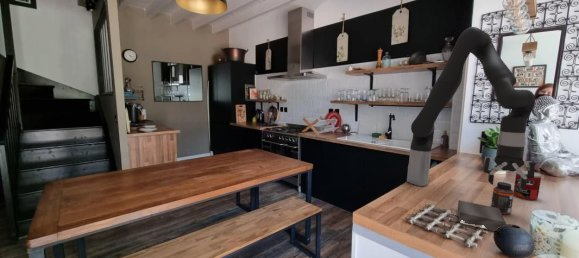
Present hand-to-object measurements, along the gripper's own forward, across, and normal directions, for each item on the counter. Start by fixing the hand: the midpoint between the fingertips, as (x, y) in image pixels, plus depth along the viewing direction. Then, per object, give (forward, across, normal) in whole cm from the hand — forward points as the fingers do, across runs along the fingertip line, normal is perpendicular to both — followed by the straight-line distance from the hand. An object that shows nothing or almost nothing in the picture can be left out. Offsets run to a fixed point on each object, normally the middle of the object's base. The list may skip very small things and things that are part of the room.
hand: (505, 185), depth 93 cm
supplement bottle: (+10, +1, 0) cm, 11 cm away
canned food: (+11, -12, -24) cm, 29 cm away
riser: (+10, +9, +14) cm, 20 cm away
